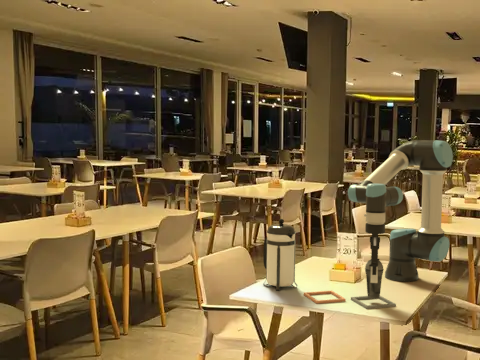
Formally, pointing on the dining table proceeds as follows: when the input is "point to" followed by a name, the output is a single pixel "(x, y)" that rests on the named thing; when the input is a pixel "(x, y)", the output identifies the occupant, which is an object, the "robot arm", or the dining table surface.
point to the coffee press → (280, 255)
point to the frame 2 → (390, 304)
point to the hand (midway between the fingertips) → (374, 279)
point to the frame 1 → (324, 300)
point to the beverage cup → (373, 288)
